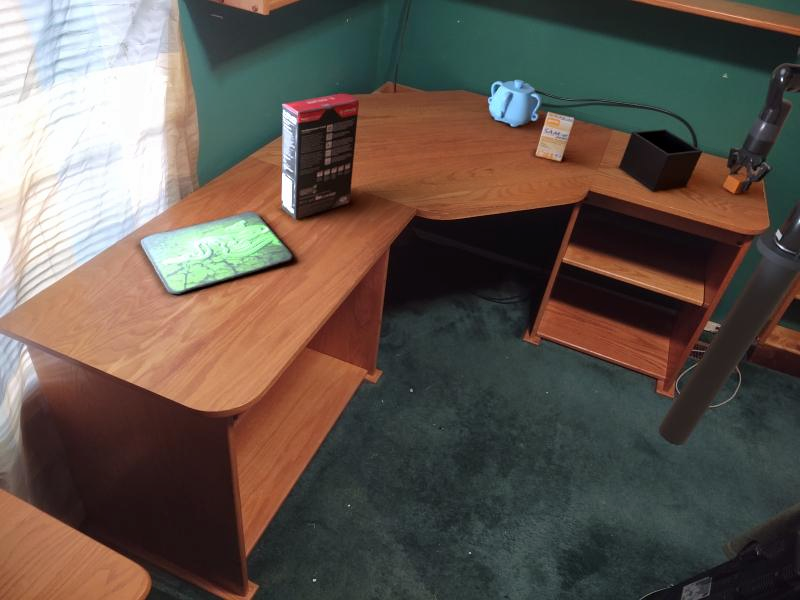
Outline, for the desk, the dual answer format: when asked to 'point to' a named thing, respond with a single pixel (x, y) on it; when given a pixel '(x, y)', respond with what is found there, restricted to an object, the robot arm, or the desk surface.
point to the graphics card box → (318, 153)
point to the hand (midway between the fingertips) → (735, 187)
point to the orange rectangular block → (735, 183)
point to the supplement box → (554, 136)
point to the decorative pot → (514, 102)
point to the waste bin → (659, 159)
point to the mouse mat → (213, 251)
